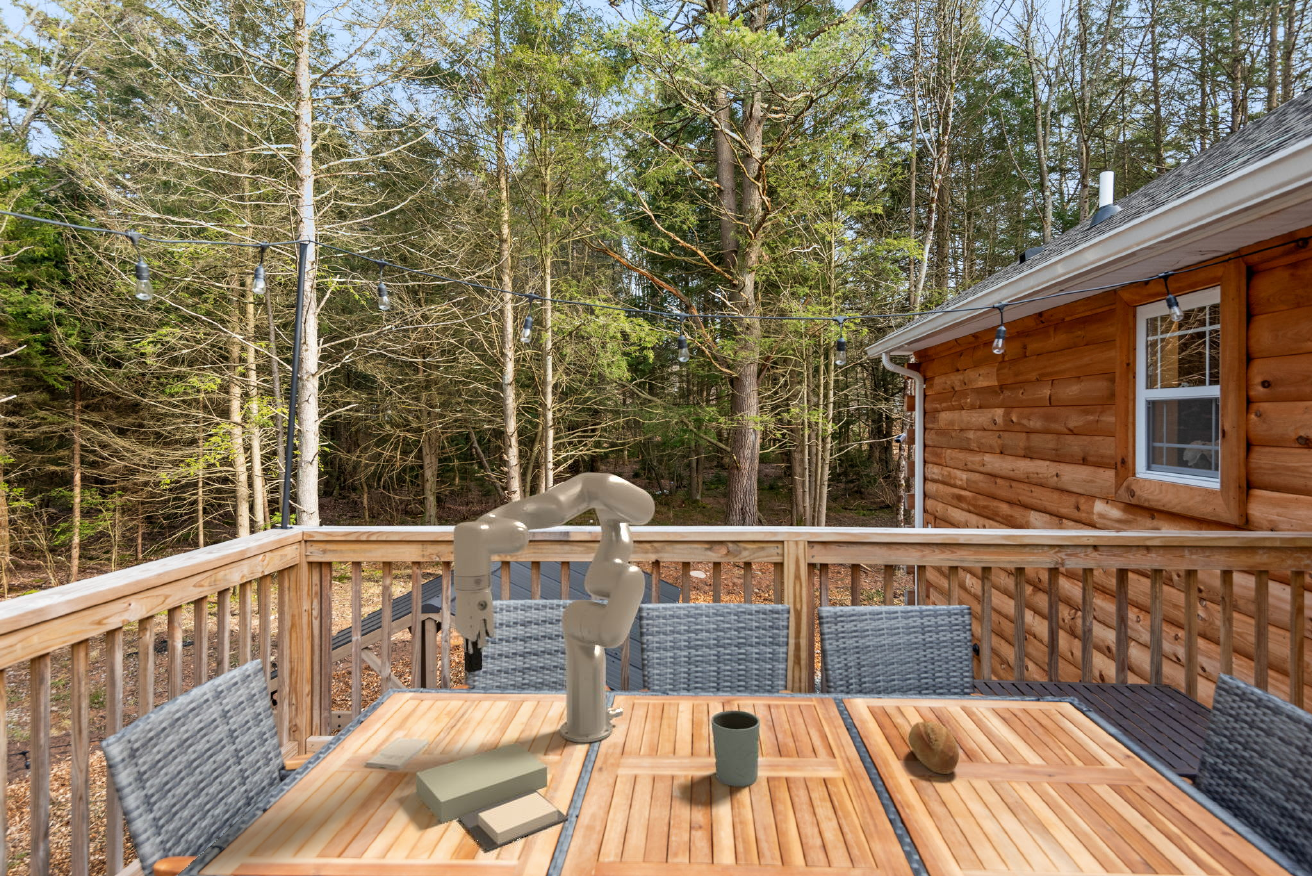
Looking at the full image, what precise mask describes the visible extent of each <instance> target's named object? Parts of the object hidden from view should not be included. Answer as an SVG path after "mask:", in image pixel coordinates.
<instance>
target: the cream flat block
mask: <svg viewBox="0 0 1312 876" xmlns="http://www.w3.org/2000/svg"><path fill="white" fill-rule="evenodd" d="M537 792H538V791H537ZM537 792H536V793H533V794H530V795H528V796H525V797H522V798H520V799H517V800H514V801H512V802H509V803H506V804H503V805H501V806H498V807H495V808H493V809H490V810H487V811H485V812H482V813H479V814H478V825H479V826H480V827H481V828H482V829H483V830H484V831H485V832H486V833H487V834H488V835H489V836H490V837H491V838H492V839H493V840H494V841H495V842H496V843H497V844H498V845H499V844H501V843H503V842H506V841H508V840H511V839H513V838H516V837H518V836H521V835H523V834H525V833H528V832H530V831H533V830H535V829H538V828H540V827H542V826H545V825H547V824H550V823H552V822H555V821H557V820H558V810H559V808H557V807H556V806H555V805H554V804H552V803H551V802H550V801H549V800H548V799H547V800H548V801H549V802H550V803H551V804H550V803H549V802H548V801H547V800H545V799H546V798H545V797H544V796H543V795H542V796H543V797H544V798H545V799H544V798H543V797H542V796H540V795H539V794H538V793H539V792H538V793H537ZM553 805H554V806H555V807H556V808H557V809H556V808H555V807H554V806H553Z"/></svg>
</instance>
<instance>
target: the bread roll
mask: <svg viewBox="0 0 1312 876" xmlns="http://www.w3.org/2000/svg"><path fill="white" fill-rule="evenodd" d="M907 739H908V744H909V746H910V747H911V749H912V751H913V752H914V754H915V755H916V758H917V759H918V760H919V761H920V762H921V763H922V764H923V765H924V766H925V767H926V768H928V769H929V770H931V771H933V772H935V773H938V774H942V775H948V774H950V773H952V772H953V771H954V770H955V769H956V767H957V766H958V763H959V759H960V751H959V746H958V744H957V741H956V739H955V738H954V736H953V734H952V732H950V730H949V729H948V728H946V727H945V726H944V725H943V724H940V723H936V722H929V721H924V720H923V721H920V722H919V721H918V722H916V723H914V724H913V725H912V727H911V728H910V731H909V734H908V738H907Z"/></svg>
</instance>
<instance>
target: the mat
mask: <svg viewBox="0 0 1312 876" xmlns="http://www.w3.org/2000/svg"><path fill="white" fill-rule="evenodd" d="M536 792H537V793H538V794H539V795H540V796H542V797H543V798H544V799H545V800H547V801H548V802H549V803H550V804H552V803H551V801H549V800H548V799H547V798H545V797H544V795H542V794H541V793H540V792H539V791H537V790H533V791H530V792H527V793H525V794H522V795H519V796H516V797H513V798H511V799H508V800H505V801H502V802H499V803H496V804H494V805H491V806H488V807H485V808H482V809H480V810H477V811H474V812H471V813H468V814H465V815H463V816H460V817H458V818H457V819H458V821H460V823H461V824H462V825H463V826H464V828H466V830H467V831H468V830H469V831H470V832H469V831H468V832H469V833H470V834H471V835H472V836H473V838H476V839H475V840H476V841H477V840H478V841H477V842H478V843H479V845H480V846H482V848H483V849H484V850H485V851H486V852H487V853H489V852H492V851H494V850H496V849H499V848H501V847H503V845H504V846H506V845H509V844H511V843H510V842H512V843H514V842H516V841H515V840H517V839H519V838H522V837H524V838H526V837H525V836H527V835H529V836H532V835H534V834H537V833H540V832H541V831H545V830H547V829H549V828H551V827H554V826H557V825H559V824H562V823H564V822H567V821H569V817H568V816H566V814H564V813H563V812H562V811H561V810H560V809H558V808H557V807H556V806H555V805H554V804H552V805H553V806H554V807H555V808H556V809H558V820H557V821H555V822H552V823H550V824H547V825H545V826H542V827H540V828H538V829H535V830H533V831H530V832H528V833H525V834H523V835H521V836H518V837H516V838H513V839H511V840H508V841H506V842H503V843H501V844H499V845H498V844H497V843H496V842H495V841H494V840H493V839H492V838H491V837H490V836H489V835H488V834H487V833H486V832H485V831H484V830H483V829H482V828H481V827H480V826H479V825H478V814H479V813H482V812H485V811H487V810H490V809H493V808H495V807H498V806H501V805H503V804H506V803H509V802H512V801H514V800H517V799H520V798H522V797H525V796H528V795H530V794H533V793H536ZM536 832H537V833H536ZM527 837H528V836H527ZM522 839H523V838H522ZM519 840H520V839H519ZM513 841H514V842H513ZM517 841H518V840H517ZM498 847H499V848H498Z"/></svg>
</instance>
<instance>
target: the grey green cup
mask: <svg viewBox="0 0 1312 876" xmlns="http://www.w3.org/2000/svg"><path fill="white" fill-rule="evenodd" d="M710 721H711V722H710V723H711V730H712V731H711V732H712V736H713V737H712V741H713V750H714V752H713V753H714V757H715V761H714V763H715V764H714V765H715V772H716V773H715V775H716V778H717V780H718V781H719V782H720V783H722V784H724V785H726V786H729V787H733V788H734V787H737V788H740V787H748V786H752V785H753V784H755V783H756V781H757V780H758V774H759V772H758V771H759V755H760V754H759V752H760V751H759V750H760V747H759V746H760V745H759V741H760V738H759V736H760V725H761V724H760V722H761V721H760V718H759V717H758V716H757V715H755V714H753V713H751V712H749V711H743V710H724V711H721V712H718V713H715V714H714V715H713V716H712V717H711V720H710Z"/></svg>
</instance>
